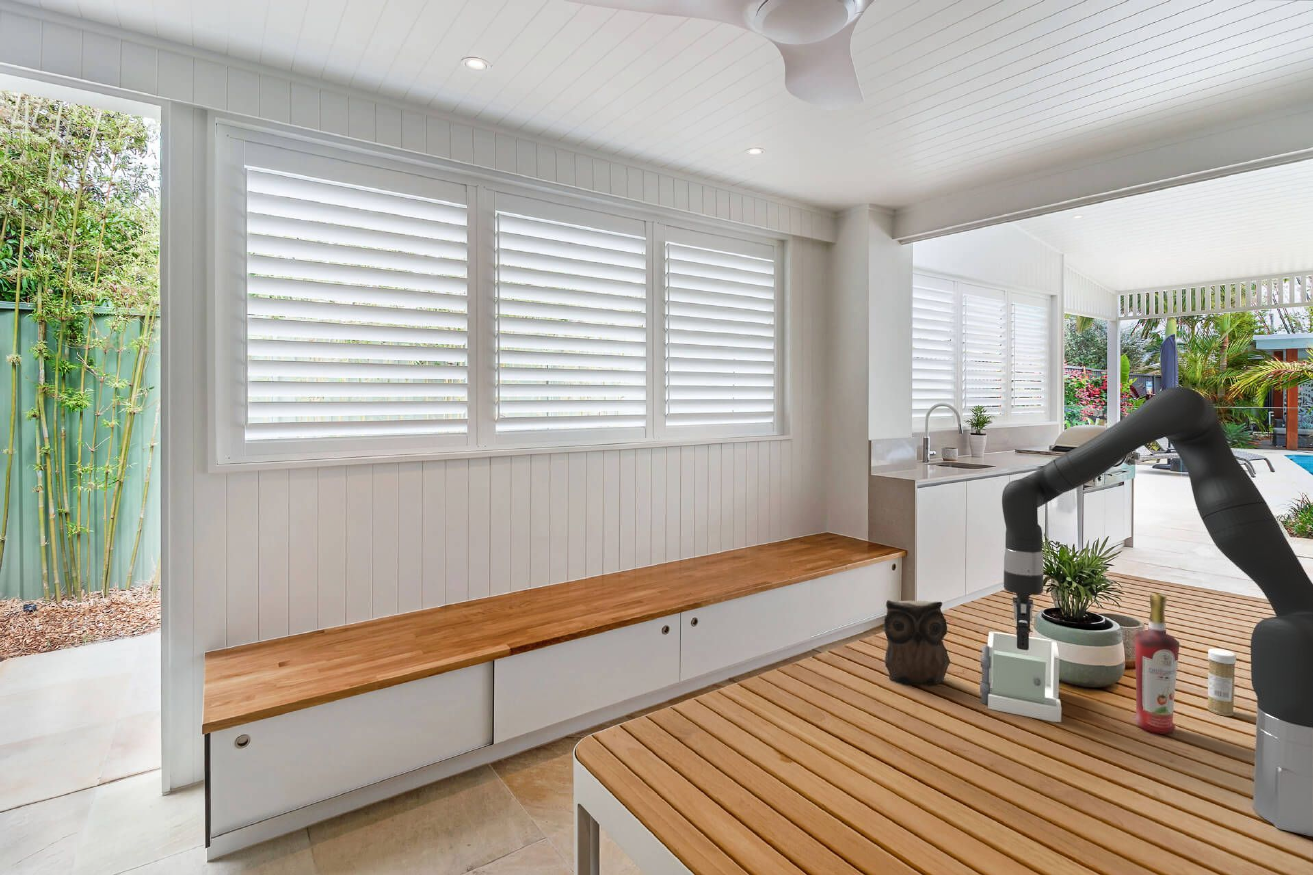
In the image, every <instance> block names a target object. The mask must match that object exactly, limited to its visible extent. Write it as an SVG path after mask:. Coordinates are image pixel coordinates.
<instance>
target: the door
mask: <svg viewBox="0 0 1313 875" xmlns="http://www.w3.org/2000/svg"><path fill="white" fill-rule="evenodd" d="M1045 671H1046V660H1045V658H1039V657H1033V656H1027V655H1021V654H1014V653H1008V652H1002V651H996V650H994V652H993V692H992V695H996V696H1002V697H1007V698H1012V699H1017V700H1023V701H1028V702H1033V703H1039V704H1044V705H1045Z"/></svg>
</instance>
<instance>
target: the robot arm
mask: <svg viewBox="0 0 1313 875" xmlns="http://www.w3.org/2000/svg"><path fill="white" fill-rule="evenodd" d="M1163 438H1166V439H1167V440H1168V441H1169V443H1170V444H1171V445H1172V447H1173V449H1174V451H1175V452H1176V453H1177V455H1178V456H1179V458H1180V460H1181V461H1182V464H1183V465H1184V466H1185V468H1186V471H1187V473H1188V476H1189V481H1190V487H1191V490H1192V494H1193V499H1194V503H1195V505H1196V509H1197V512H1198V513H1199V516H1200V518H1201V521H1202V522H1203V525H1204V526H1205V529H1206V530H1207V532H1208V535H1209V536H1210V538H1211V540H1212V541H1213V543H1214V545H1215V546H1216V548H1217V549H1218V550H1219V551H1220V552H1221V554H1223V555H1224V556H1225V557H1226V558H1227V559H1228V560H1229V561H1230V562H1232V563H1233V564H1234V565H1235V566H1236V567H1237V568H1238V569H1239V570H1240V571H1242V572H1243V573H1244V574H1245V575H1246V576H1247V577H1249V578H1250V579H1251V580H1252V581H1253V582H1254V583H1255V584H1256V585H1257V587H1259V589H1260V590H1261V592H1262V593H1263V595H1265V597H1266V599H1267V600H1268V603H1269V604H1270V606H1271V607H1272V610H1273V612H1274V614H1275V616H1271V617H1267V618H1264V619H1261V620H1260V621H1258V622H1257V624H1255V627H1254V628H1253V630H1252V633H1251V638H1250V677H1251V678H1250V680H1251V686H1252V689H1253V692H1254V694H1255V695H1256V724H1255V743H1254V744H1255V745H1254V746H1255V748H1254V774H1253V776H1254V777H1253V796H1252V798H1253V800H1252V806H1253V807H1252V808H1253V809H1254V811H1255V813H1256V814H1258V815H1259V816H1260V817H1261V818H1263V819H1264V820H1266V821H1268V822H1269V823H1270V824H1272V825H1274V828H1276V829H1278V830H1282V831H1283V830H1284V831H1287V832H1291V833H1296V834H1301V835H1305V836H1309V837H1313V582H1312V580H1311V579H1310V577H1309V576H1308V574H1307V573H1306V570H1305V569H1304V567H1303V565H1302V563H1301V562H1300V560H1299V559H1298V557H1297V555H1296V553H1295V551H1294V550H1293V548H1292V547H1291V545H1290V543H1289V542H1288V540H1287V538H1286V536H1285V534H1284V532H1283V531H1282V528H1281V527H1280V525H1279V523H1278V520H1277V519H1276V517H1275V515H1274V513H1273V512H1272V510H1271V507H1269V505H1268V503H1267V502H1266V500H1265V498H1264V497H1263V495H1262V494H1261V492H1260V491H1259V489H1258V487H1257V486H1256V484H1255V483H1254V481H1253V479H1251V476H1250V475H1249V474H1248V473H1247V472H1246V470H1245V469H1244V467H1243V466H1242V465H1241V463H1240V462H1239V460H1238V459H1237V457H1236V456H1235V455H1234V453H1233V451H1232V449H1231V447H1230V444H1229V442H1228V440H1227V438H1226V435H1225V432H1224V430H1223V427H1222V424H1221V422H1220V419H1219V416H1218V413H1217V411H1216V409H1215V407H1214V406H1213V404H1212V403H1211V401H1209V400H1208V399H1207V398H1206V397H1205V396H1203V395H1202V394H1201V393H1200V392H1198V391H1196V390H1194V389H1193V388H1189V387H1185V386H1175V387H1168V388H1165V389H1163V390H1161V391H1159V392H1158V393H1156V394H1155V395H1153V396H1151V397H1150V398H1149V399H1148V400H1146V401H1145V402H1144V403H1142V404H1141V405H1140V406H1138V407H1137V408H1136V409H1134V410H1133V411H1132V412H1130V413H1129V414H1127V415H1126V416H1124V417H1123V418H1122V419H1120V420H1119V421H1117V422H1116V423H1115V424H1113V425H1111V426H1110V427H1109V428H1107V429H1106V430H1104V431H1102V432H1101V433H1099V434H1097V435H1096V436H1095V437H1093V438H1090V439H1089V440H1088V441H1086V442H1084V443H1083V444H1082V443H1081V445H1078V446H1077V447H1075V448H1073V449H1071V450H1069V451H1067V452H1065V453H1063V454H1061V455H1060V456H1058V457H1056V458H1055V459H1052V460H1051V461H1049V462H1048V463H1046V464H1045V465H1044V467H1042V468H1041V469H1038V470H1036V471H1034V472H1032V473H1030V474H1029V475H1026V476H1024V477H1022V478H1019V479H1014V480H1011V481H1010V482H1008V483H1007V484H1006V485H1005V486H1004V488H1003V491H1002V495H1001V508H1002V514H1003V519H1004V524H1005V540H1004V541H1005V549H1004V555H1003V588H1004V590H1005V591H1006V592H1009V593H1012V594H1013V593H1014V594H1016V595H1015V597H1014V596H1013V597H1012V610H1013V621H1014V622H1016V623H1015V624H1016V627H1015V630H1016V634H1015V635H1017V648H1018V649H1021V650H1028V649H1029V637H1030V633H1031V632H1032V631H1031V624H1032V623H1033V611H1034V599H1032V598H1030V596H1038V595H1041V594H1043V592H1044V555H1043V529H1042V527H1041V525H1040V524H1039V513H1038V508H1040V507H1041V506H1043V505H1046V504H1047V503H1049V502H1051V501H1053V500H1054V499H1056V498H1058V497H1059V496H1061V495H1063V494H1064V493H1067V492H1068V493H1069V491H1072V490H1074V489H1077V488H1079V487H1081V486H1082V485H1085V484H1087V483H1089V482H1091V481H1093V480H1095V479H1096V478H1097V479H1098V477H1100V476H1102V475H1103V474H1105V473H1106V472H1107V471H1109V470H1110V469H1111V468H1113V467H1114V466H1116V465H1117V463H1119V462H1120V461H1121V460H1123V459H1124V458H1125V457H1126V456H1128V455H1130V454H1131V453H1133V452H1134V451H1136V450H1138V449H1140V448H1141V447H1143V446H1145V445H1147V444H1150V443H1152V442H1154V441H1157V440H1160V439H1163Z"/></svg>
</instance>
